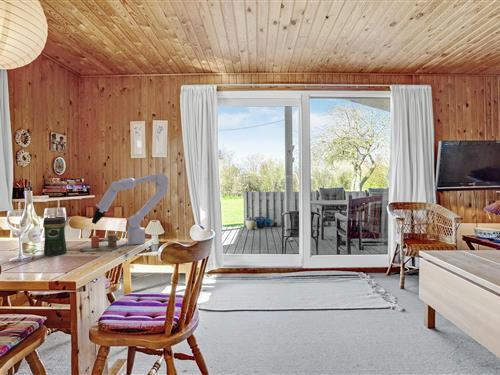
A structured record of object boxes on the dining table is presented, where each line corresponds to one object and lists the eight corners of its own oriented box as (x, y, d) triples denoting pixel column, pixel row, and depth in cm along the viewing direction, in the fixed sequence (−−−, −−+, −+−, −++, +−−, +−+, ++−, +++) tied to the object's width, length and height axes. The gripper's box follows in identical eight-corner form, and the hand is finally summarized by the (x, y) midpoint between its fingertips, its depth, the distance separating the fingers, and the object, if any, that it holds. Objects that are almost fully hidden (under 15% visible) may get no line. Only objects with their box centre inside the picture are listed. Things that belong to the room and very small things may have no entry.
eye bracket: (116, 245, 189) (116, 232, 188) (117, 249, 178) (117, 235, 177) (82, 247, 182) (82, 234, 182) (81, 252, 171) (81, 238, 171)
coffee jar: (67, 251, 171) (67, 215, 171) (64, 255, 164) (64, 216, 164) (45, 253, 168) (45, 215, 168) (41, 256, 161) (41, 217, 160)
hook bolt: (120, 244, 185) (119, 234, 185) (120, 245, 182) (120, 235, 182) (91, 246, 180) (91, 236, 180) (91, 247, 176) (91, 237, 176)
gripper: (100, 196, 194) (87, 217, 192) (100, 198, 181) (86, 220, 179) (111, 202, 197) (99, 222, 195) (112, 204, 183) (98, 226, 181)
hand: (93, 222), depth 187 cm, fingers open, 7 cm apart
